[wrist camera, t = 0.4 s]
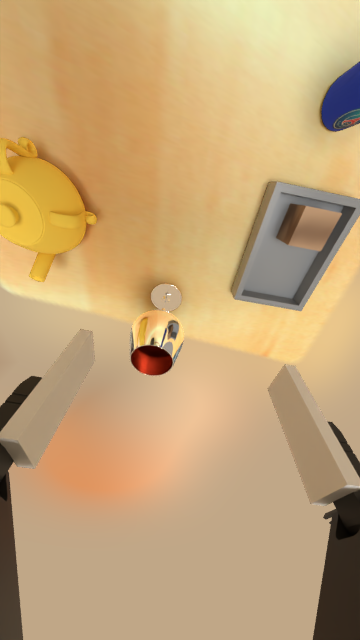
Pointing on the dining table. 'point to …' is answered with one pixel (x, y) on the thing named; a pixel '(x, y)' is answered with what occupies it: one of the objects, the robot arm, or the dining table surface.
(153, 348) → the wineglass
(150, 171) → the dining table surface
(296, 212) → the walnut block
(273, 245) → the tray
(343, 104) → the beverage can
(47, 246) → the teapot
